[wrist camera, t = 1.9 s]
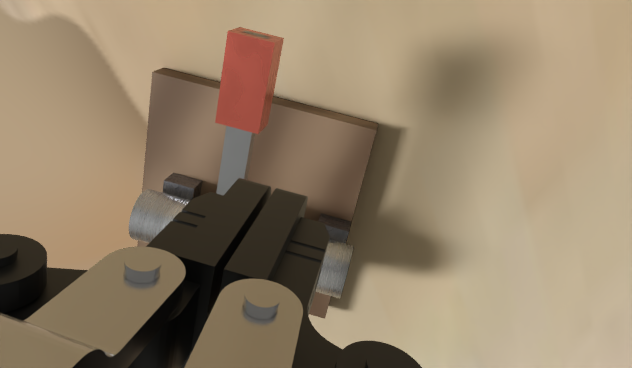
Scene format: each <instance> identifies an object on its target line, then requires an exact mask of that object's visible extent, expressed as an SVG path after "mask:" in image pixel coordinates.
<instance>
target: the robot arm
mask: <svg viewBox="0 0 632 368" xmlns="http://www.w3.org/2000/svg"><path fill="white" fill-rule="evenodd" d="M307 200H308V196H304V195H301V194H297V193H293V192H290V191H286V190H283V189H279V188H276V189H275V190H274V192H273V193H272V195H271V186H268V185H264V184H260V183H257V182H253V181H249V180H246V179H242V178H238V179H237V180H236V182H235V183H234V184H233V185H232V186H231V187H230V189H229V190H228V191H227V192H226V193H225V194H224V195H220V194H216V193H213V192H209V193H206V194H204V195H201V196H199V197H196V198H193V199H192V200H191V201H190V202H189V203H188V204H187V205H186V206H185V207H184V208H183V209H182V212H179V213H178V214H177V215H176V216H175V217H174V218H173V221H170V222H169V223H168V224H167V225H166V226H165V227H164V229H163V230H162V231H161V232H160V233H159V234H158V235H157V236H156V237H155V238H154V239H153V240H152V241H151V242H150V243H149V244H148V245H147V246H146V247H129V248H124V249H120V250H117V251H115V252H112V253H110V254H109V255H107V256H106V257H104V258H103V259H102V260H100V261H99V262H98V263H97V264H95V265H94V266H93V267H92V268H90V269H89V270H74V269H60V268H47V252H46V250H45V248H44V247H43V246H42V245H41V244H40V243H39V242H37V241H35V240H33V239H30V238H27V237H24V236H19V235H11V234H0V368H422V367H421V366H420V365H419V364H418V363H417V362H416V361H415V360H414V359H413V358H412V357H411V356H409V355H408V354H407V353H405V352H404V351H402V350H400V349H398V348H396V347H394V346H392V345H389V344H386V343H382V342H377V341H359V342H355V343H352V344H350V345H348V346H347V347H345V348H344V349H343V350H342V349H341V348H339V347H337V346H335V345H334V344H332V343H330V342H329V341H327V340H326V339H325V338H324V337H322V336H321V335H320V334H319V333H318V332H317V331H316V330H315V328H314V327H313V326H312V324H311V322H310V320H309V317H308V315H309V312H310V308H311V305H312V302H313V299H314V295H315V292H316V288H317V284H318V280H319V277H320V273H321V269H322V265H323V261H324V257H325V253H326V250H327V246H328V242H329V238H330V236H329V234H328V231H327V229H326V227H325V224H324V223H321V222H318V221H314V220H311V219H307V218H304V214H305V210H306V206H307Z"/></svg>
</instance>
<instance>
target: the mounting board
mask: <svg viewBox="0 0 632 368" xmlns="http://www.w3.org/2000/svg"><path fill="white" fill-rule="evenodd" d="M220 84H221V83H220V82H216V81H212V80H208V79H205V78H201V77H197V76H193V75H189V74H185V73H181V72H178V71H174V70H170V69H166V68H162V69H159V70H156V71H154V72H152V84H151V95H150V107H149V119H148V130H147V142H146V153H145V165H144V178H143V188H142V192H143V191H145V190H146V189H152V190H155V191H159V192H163V184H164V180H165V179H166V178H167V177H169V176H170V175H171V174H172V173H177V174H181V175H184V176H188V177H191V178H195V179H199V180H202V187H201V194H200V196H201V195H204V194H206V193H209V192H213V193H216V192H217V185H218V179H219V172H220V166H221V159H222V152H223V146H224V139H225V132H226V125H222V124H218V123H215V119H216V112H217V105H218V98H219V91H220ZM377 127H378V123H374V122H370V121H366V120H362V119H358V118H355V117H351V116H347V115H343V114H339V113H335V112H331V111H328V110H324V109H320V108H316V107H312V106H308V105H305V104H301V103H297V102H293V101H289V100H285V99H281V98H278V97H274V96H273V99H272V104H271V110H270V115H269V121H268V125H267V126H266V127H265V128H264V129H263V130H262V131H261V132H260V133H259V134H256V133H255V139H254V144H253V150H252V156H251V161H250V167H249V173H248V178H247V180H249V181H253V182H257V183H260V184H264V185H268V186H271V195H272V193H273V192H274V190H275V189H276V188H279V189H283V190H286V191H290V192H293V193H297V194H301V195H304V196H308V200H307V206H306V210H305V214H304V218H307V219H311V220H314V221H318V220H319V218H320V215H321V213H322V214H325V215H329V216H333V217H336V218H340V219H344V220H347V221H351V222H352V218H353V215H354V211H355V207H356V204H357V200H358V196H359V193H360V189H361V186H362V182H363V178H364V175H365V171H366V167H367V164H368V160H369V156H370V153H371V149H372V146H373V142H374V138H375V135H376V131H377ZM148 244H149V243H145V242H142V241H138V246H137V247H146V246H147V245H148ZM330 298H331V296H329V295H326V294H322V293H319V292H315V295H314V299H313V302H312V305H311V308H310V312H309V314H311V315H314V316H318V317H321V318H325V316H326V313H327V309H328V305H329V302H330Z"/></svg>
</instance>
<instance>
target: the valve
mask: <svg viewBox="0 0 632 368" xmlns="http://www.w3.org/2000/svg"><path fill="white" fill-rule="evenodd" d="M201 187H202V180H199V179H195V178H191V177H188V176H184V175H181V174H177V173H172V174H171V175H170V176H169V177H167V178H166V179H165V180H164V184H163V192H159V191H155V190H152V189H146V190H145V191H143V192H142V194H141V195H140V196H139V198H138V199H137V201H136V203H135V205H134V207H133V210H132V213H131V217H130V222H129V234H130V237H131V238H132V239H135V240H138V241H142V242H145V243H150V242H151V241H152V240H153V239H154V238H155V237H156V236H157V235H158V234H159V233H160V232H161V231H162V230H163V229H164V227H165V226H166V225H167V224H168V223H169V222H170V221H173V218H174V217H175V216H176V215H177V214H178V213H179V212H182V209H183V208H184V207H185V206H186V205H187V204H188V203H189V202H190V201H191V200H192V199H193V198H196V197H199V196H200V194H201ZM318 222H321V223H324V224H325V227H326V229H327V231H328V234H329V236H330V238H329V242H328V246H327V250H326V253H325V257H324V261H323V265H322V269H321V273H320V277H319V280H318V284H317V288H316V292H319V293H322V294H326V295H329V296H333V297H336V298H340V297H341V294H342V290H343V287H344V283H345V280H346V276H347V272H348V269H349V265H350V261H351V257H352V253H353V248H354V246H352V245H349V244H346V241H347V237H348V233H349V230H350V226H351V221H347V220H344V219H340V218H336V217H333V216H329V215H325V214H322V213H321V215H320V218H319V220H318Z"/></svg>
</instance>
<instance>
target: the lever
mask: <svg viewBox="0 0 632 368" xmlns="http://www.w3.org/2000/svg"><path fill="white" fill-rule="evenodd" d="M283 39H284V38H281V37H277V36H273V35H269V34H265V33H261V32H257V31H253V30H249V29H245V28H241V27H239V28H236V29H233V30H230V31H228V34H227V41H226V48H225V56H224V63H223V70H222V77H221V84H220V91H219V98H218V105H217V112H216V119H215V123H218V124H222V125H226V132H225V139H224V146H223V152H222V159H221V166H220V172H219V179H218V185H217V192H216V194H220V195H224V194H225V193H226V192H227V191H228V190H229V189H230V187H231V186H232V185H233V184H234V183H235V182H236V180H237V179H238V178H242V179H246V180H247V178H248V173H249V167H250V161H251V156H252V150H253V144H254V139H255V133H256V134H259V133H260V132H261V131H262V130H263V129H264V128H265V127H266V126H267V125H268V121H269V115H270V110H271V104H272V99H273V93H274V88H275V83H276V77H277V72H278V66H279V61H280V56H281V50H282V45H283Z"/></svg>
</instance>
